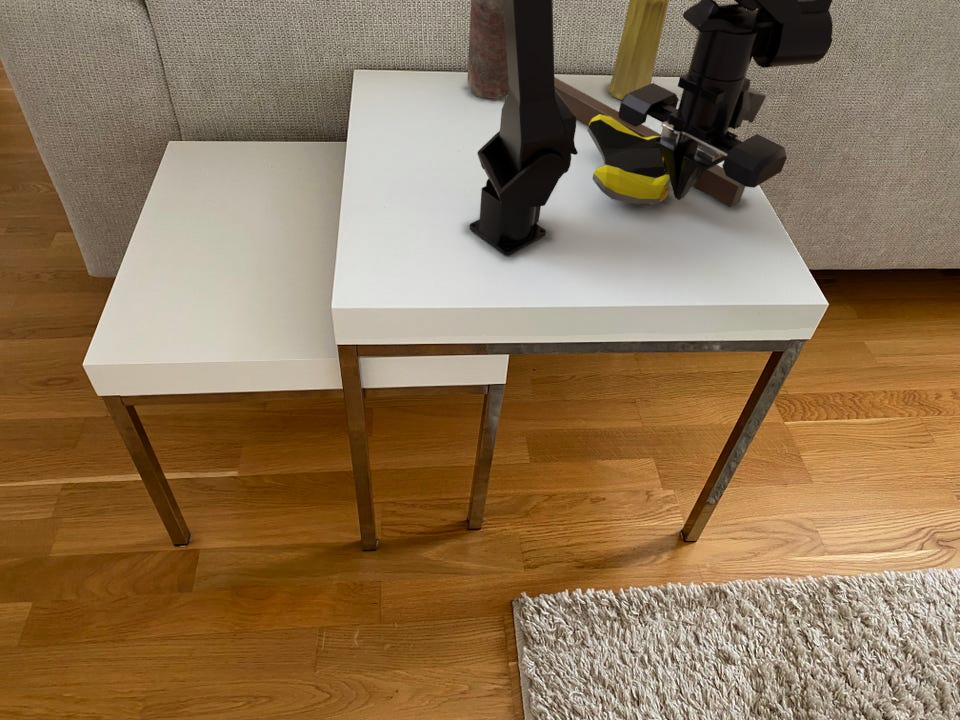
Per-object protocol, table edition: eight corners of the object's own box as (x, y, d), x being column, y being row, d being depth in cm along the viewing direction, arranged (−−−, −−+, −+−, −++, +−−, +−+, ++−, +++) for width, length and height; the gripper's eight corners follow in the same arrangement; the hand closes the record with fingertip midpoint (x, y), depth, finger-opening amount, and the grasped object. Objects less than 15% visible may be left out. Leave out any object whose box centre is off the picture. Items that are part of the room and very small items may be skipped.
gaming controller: (588, 213, 84) (671, 220, 84) (596, 173, 80) (683, 180, 80) (582, 147, 94) (656, 153, 94) (589, 108, 90) (666, 115, 90)
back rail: (730, 207, 86) (738, 186, 84) (536, 97, 103) (539, 77, 101) (739, 201, 87) (747, 181, 85) (546, 93, 104) (549, 74, 102)
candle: (464, 75, 106) (470, -74, 91) (512, 76, 107) (526, -73, 92) (469, 100, 101) (476, -54, 86) (519, 100, 102) (535, -53, 87)
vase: (625, 79, 108) (647, -20, 98) (657, 95, 106) (683, -6, 95) (599, 90, 105) (619, -11, 95) (631, 107, 103) (655, 4, 92)
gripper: (840, 82, 71) (784, 211, 83) (693, 20, 81) (660, 143, 92) (780, 114, 66) (729, 246, 78) (629, 43, 75) (603, 171, 87)
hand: (679, 197), depth 84 cm, fingers closed
